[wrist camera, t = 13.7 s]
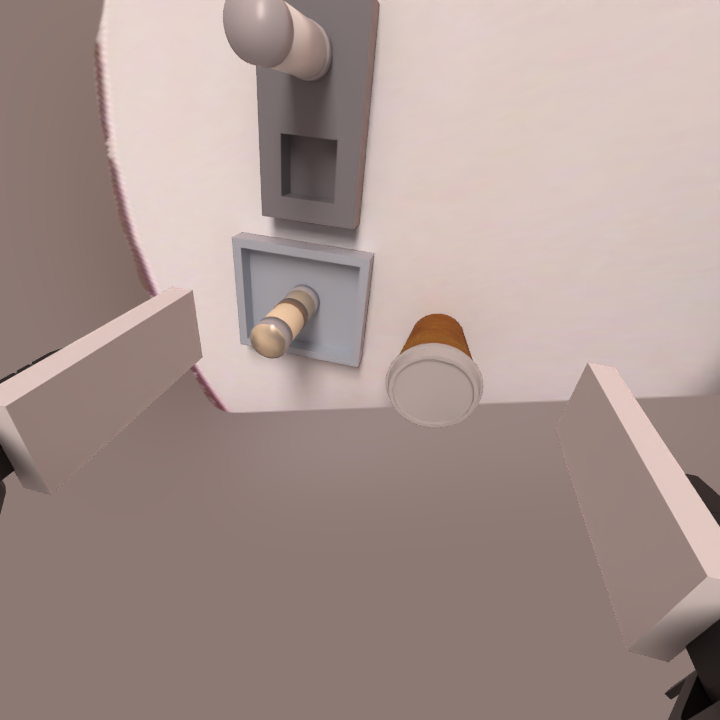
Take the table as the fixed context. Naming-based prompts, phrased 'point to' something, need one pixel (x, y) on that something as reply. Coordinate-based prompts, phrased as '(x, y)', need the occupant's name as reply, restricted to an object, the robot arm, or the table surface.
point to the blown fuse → (284, 322)
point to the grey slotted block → (309, 101)
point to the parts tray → (313, 268)
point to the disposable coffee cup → (435, 375)
